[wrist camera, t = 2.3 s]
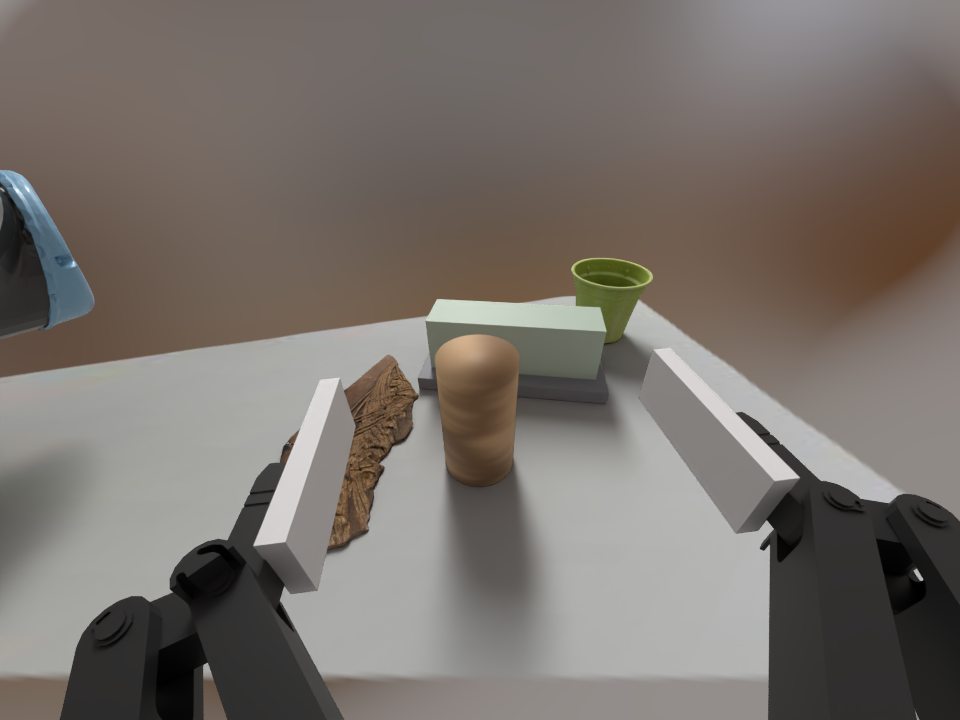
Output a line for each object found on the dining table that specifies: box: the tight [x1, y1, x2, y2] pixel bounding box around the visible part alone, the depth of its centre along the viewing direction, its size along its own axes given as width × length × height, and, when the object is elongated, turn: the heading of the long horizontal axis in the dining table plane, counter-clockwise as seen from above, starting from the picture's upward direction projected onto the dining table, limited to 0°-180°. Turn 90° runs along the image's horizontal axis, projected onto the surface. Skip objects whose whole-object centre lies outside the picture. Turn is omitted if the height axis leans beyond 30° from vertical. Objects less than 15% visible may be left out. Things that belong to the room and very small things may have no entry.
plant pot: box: [572, 258, 653, 343], centre depth 46 cm, size 9×9×9 cm
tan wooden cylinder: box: [435, 334, 519, 487], centre depth 29 cm, size 6×6×11 cm
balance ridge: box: [418, 299, 608, 404], centre depth 40 cm, size 20×9×8 cm, turn 82°
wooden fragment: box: [280, 355, 418, 550], centre depth 34 cm, size 26×11×1 cm, turn 170°
